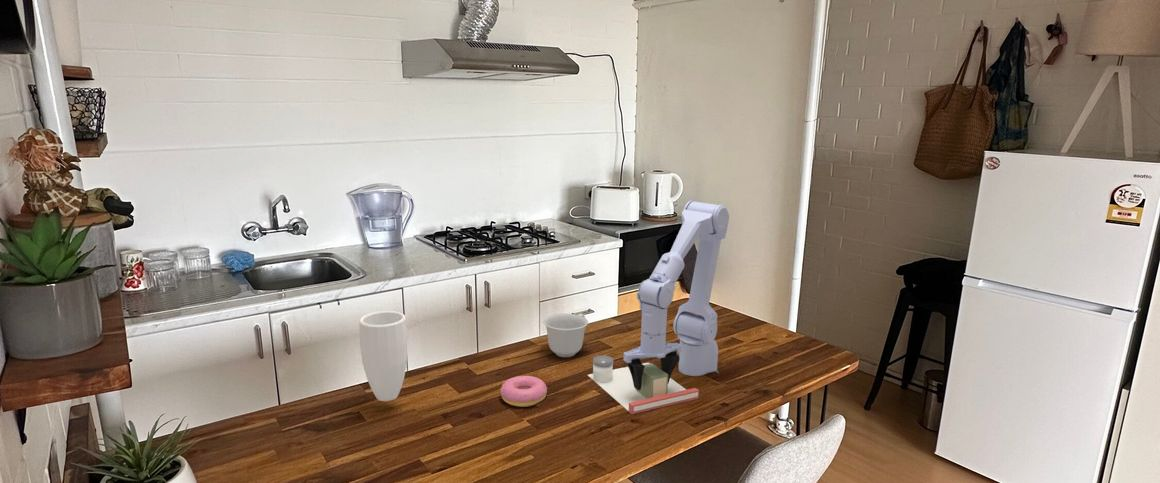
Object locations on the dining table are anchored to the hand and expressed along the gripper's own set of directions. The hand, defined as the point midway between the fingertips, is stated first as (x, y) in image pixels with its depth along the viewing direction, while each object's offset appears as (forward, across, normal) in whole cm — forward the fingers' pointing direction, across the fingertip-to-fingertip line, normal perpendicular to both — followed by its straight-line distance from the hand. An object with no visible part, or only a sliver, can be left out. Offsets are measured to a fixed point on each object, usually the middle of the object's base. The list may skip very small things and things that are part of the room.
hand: (651, 385), depth 152 cm
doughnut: (+3, -27, +12) cm, 30 cm away
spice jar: (+2, -6, +12) cm, 14 cm away
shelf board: (+3, 0, +4) cm, 5 cm away
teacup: (+3, -7, +31) cm, 32 cm away
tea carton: (+2, 0, 0) cm, 2 cm away
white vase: (+3, -57, +20) cm, 60 cm away
